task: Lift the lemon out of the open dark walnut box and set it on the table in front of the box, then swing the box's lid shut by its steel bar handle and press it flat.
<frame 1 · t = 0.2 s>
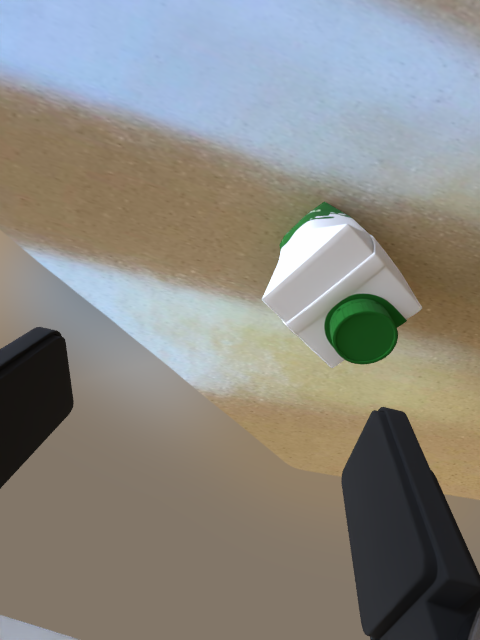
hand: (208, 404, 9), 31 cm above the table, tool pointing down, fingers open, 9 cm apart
milk carton: (320, 244, 37), on the table
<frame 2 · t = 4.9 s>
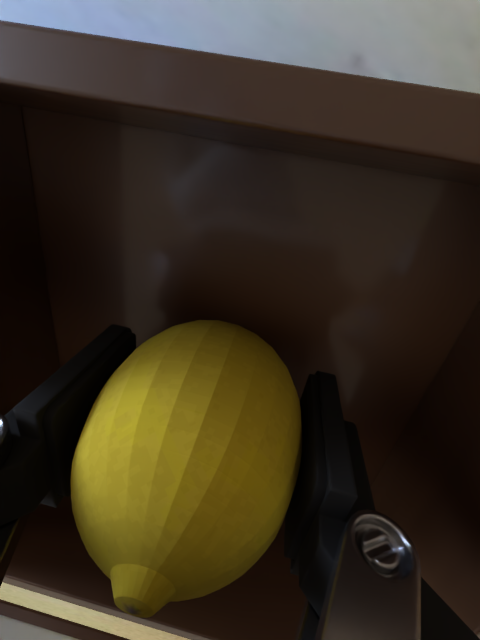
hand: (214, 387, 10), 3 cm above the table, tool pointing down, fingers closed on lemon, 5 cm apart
lemon: (229, 347, 12), resting on box, touching gripper
box: (231, 342, 13), on the table
when the fingers open (2 cm above the table, at t = 12.3 s): lemon stays where it is, on the table.
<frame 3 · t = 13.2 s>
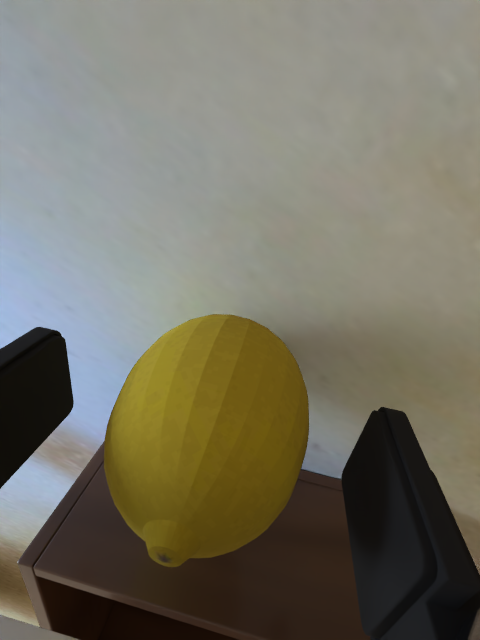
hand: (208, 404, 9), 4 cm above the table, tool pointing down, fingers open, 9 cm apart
lemon: (239, 342, 13), on the table
box: (243, 540, 19), on the table
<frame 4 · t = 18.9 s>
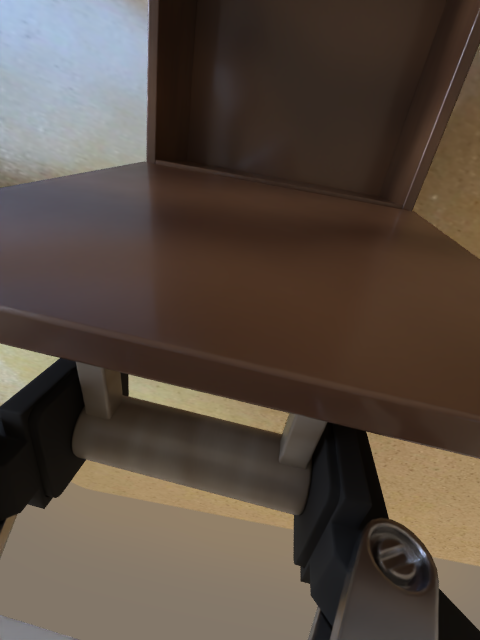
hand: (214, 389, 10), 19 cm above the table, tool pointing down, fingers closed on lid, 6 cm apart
lid: (244, 286, 13), point 15 cm above the table, hinge at 95.0°, touching gripper
box: (303, 65, 21), on the table
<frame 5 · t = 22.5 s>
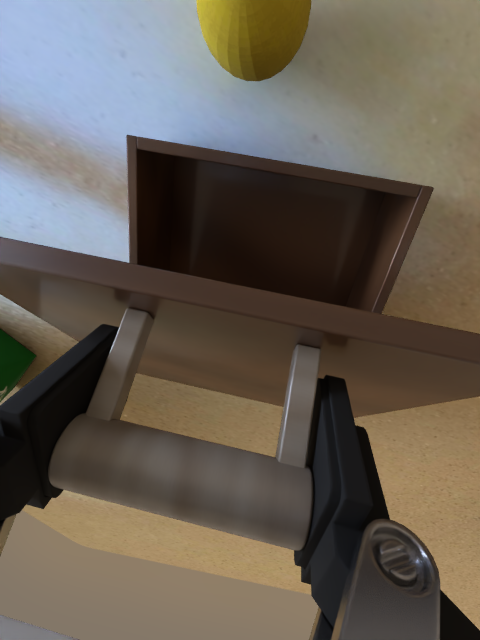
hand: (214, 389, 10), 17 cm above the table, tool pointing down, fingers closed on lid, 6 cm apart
lemon: (262, 39, 19), on the table
lid: (218, 415, 14), point 14 cm above the table, hinge at 41.0°, touching gripper
box: (260, 263, 25), on the table
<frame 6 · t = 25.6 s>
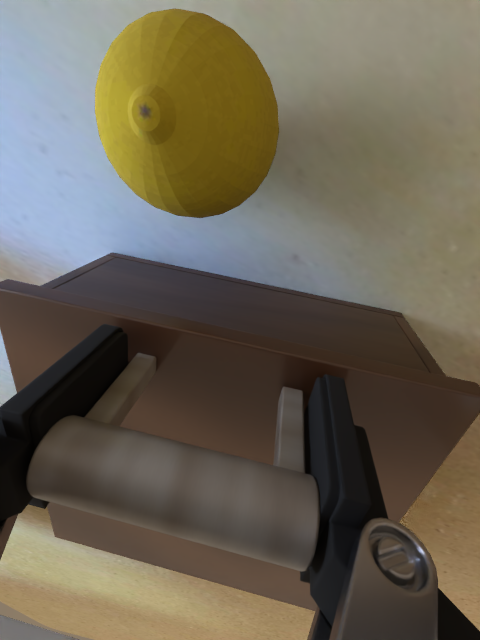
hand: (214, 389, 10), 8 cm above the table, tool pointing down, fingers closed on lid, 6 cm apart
lemon: (222, 140, 14), on the table
lid: (185, 540, 12), point 10 cm above the table, hinge at 0.7°, touching gripper
box: (231, 387, 20), on the table
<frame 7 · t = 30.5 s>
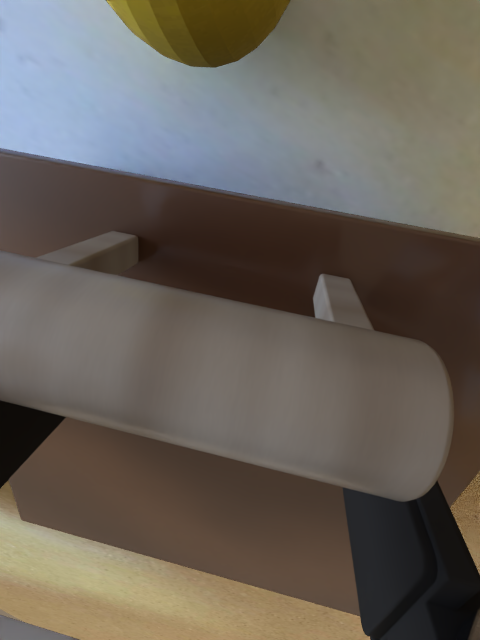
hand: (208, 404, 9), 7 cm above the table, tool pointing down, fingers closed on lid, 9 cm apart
lid: (180, 508, 8), point 9 cm above the table, hinge at -0.1°, touching gripper
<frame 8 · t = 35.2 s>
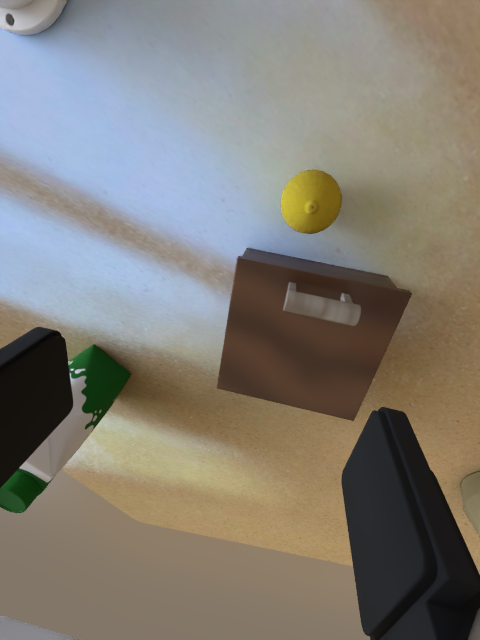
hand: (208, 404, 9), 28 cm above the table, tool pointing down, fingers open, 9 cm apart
lemon: (308, 198, 32), on the table
lid: (301, 358, 30), point 9 cm above the table, hinge at -0.1°
milk carton: (102, 369, 48), on the table
box: (299, 319, 38), on the table
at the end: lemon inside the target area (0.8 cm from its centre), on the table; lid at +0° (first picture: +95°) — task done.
